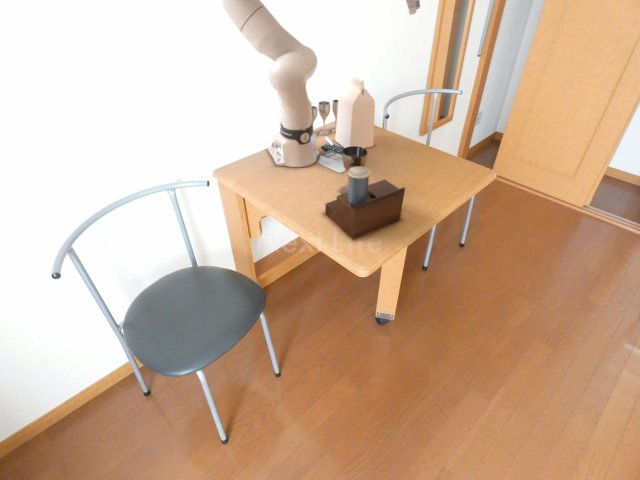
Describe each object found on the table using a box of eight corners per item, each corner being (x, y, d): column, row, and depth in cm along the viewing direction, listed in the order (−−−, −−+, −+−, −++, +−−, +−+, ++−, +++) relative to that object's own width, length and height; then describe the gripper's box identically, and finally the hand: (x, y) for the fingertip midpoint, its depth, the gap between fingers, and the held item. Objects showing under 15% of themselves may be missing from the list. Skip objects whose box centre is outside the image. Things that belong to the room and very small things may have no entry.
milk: (335, 140, 159) (336, 77, 143) (357, 135, 163) (361, 73, 147) (349, 151, 151) (353, 85, 134) (373, 145, 155) (379, 81, 139)
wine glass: (362, 199, 124) (366, 158, 114) (339, 196, 125) (340, 156, 116) (365, 187, 130) (368, 147, 120) (342, 184, 131) (344, 145, 122)
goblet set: (309, 138, 161) (308, 107, 153) (305, 133, 165) (304, 103, 157) (366, 128, 169) (369, 98, 161) (360, 123, 174) (362, 94, 165)
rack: (325, 213, 118) (325, 182, 110) (370, 197, 125) (373, 166, 117) (352, 239, 108) (355, 206, 100) (400, 219, 115) (405, 188, 108)
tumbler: (342, 197, 107) (344, 169, 101) (359, 191, 109) (361, 164, 103) (354, 207, 103) (356, 178, 97) (371, 201, 105) (374, 173, 99)
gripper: (400, -45, 106) (408, 9, 113) (388, -42, 91) (398, 20, 98) (423, -54, 103) (429, 2, 111) (414, -52, 88) (423, 13, 96)
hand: (415, 11), depth 104 cm, fingers open, 8 cm apart
